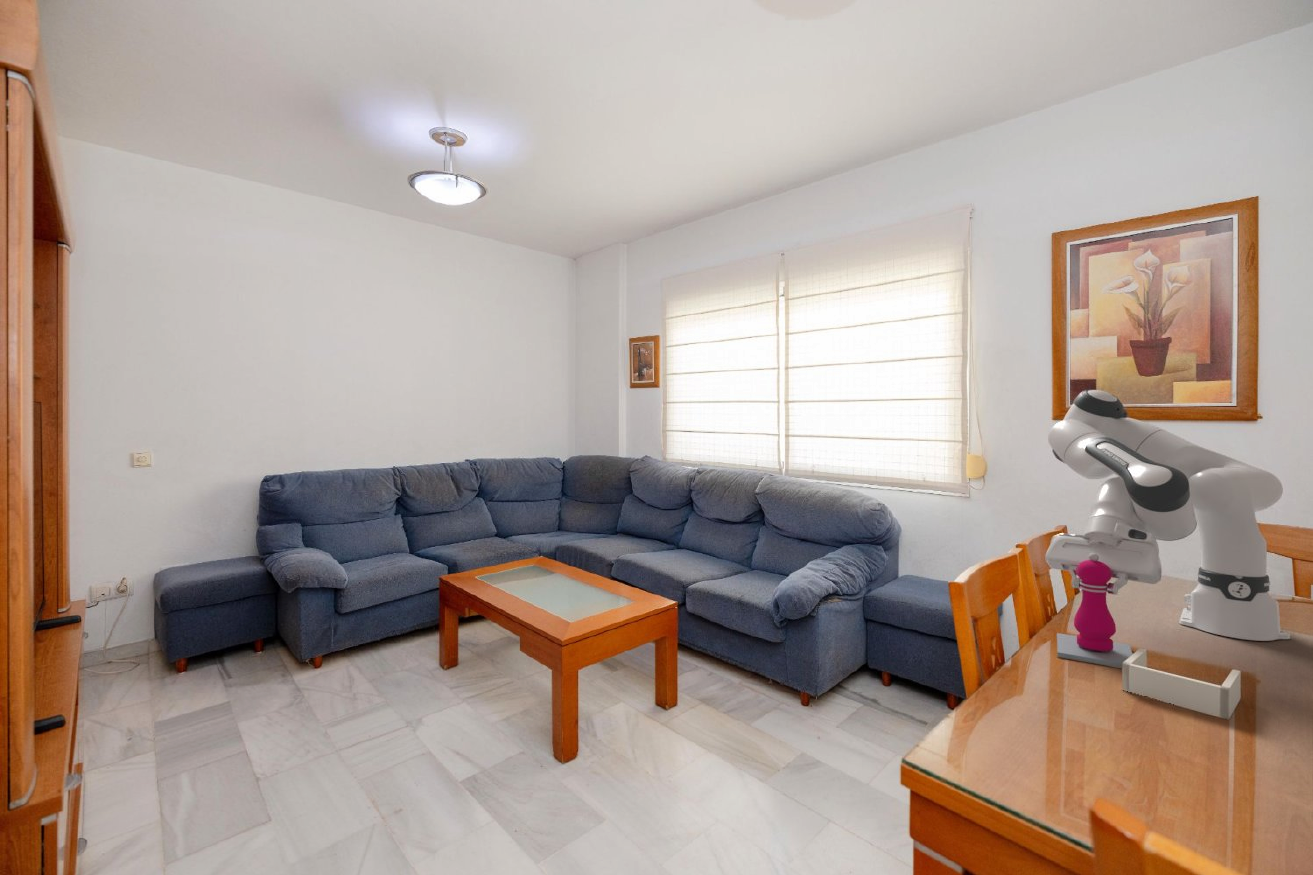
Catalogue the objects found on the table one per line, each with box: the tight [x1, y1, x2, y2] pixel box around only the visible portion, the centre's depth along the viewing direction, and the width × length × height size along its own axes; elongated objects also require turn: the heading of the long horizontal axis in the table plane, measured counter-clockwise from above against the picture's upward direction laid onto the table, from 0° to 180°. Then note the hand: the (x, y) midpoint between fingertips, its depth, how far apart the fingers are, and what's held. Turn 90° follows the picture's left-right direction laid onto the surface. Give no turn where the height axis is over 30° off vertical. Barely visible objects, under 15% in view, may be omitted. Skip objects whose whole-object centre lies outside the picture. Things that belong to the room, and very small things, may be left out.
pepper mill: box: [1073, 553, 1117, 651], centre depth 124 cm, size 7×7×20 cm
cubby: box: [1121, 647, 1242, 721], centre depth 105 cm, size 12×14×5 cm
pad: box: [1056, 633, 1134, 669], centre depth 124 cm, size 14×13×1 cm
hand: (1093, 589), depth 124 cm, fingers closed on pepper mill, 5 cm apart
